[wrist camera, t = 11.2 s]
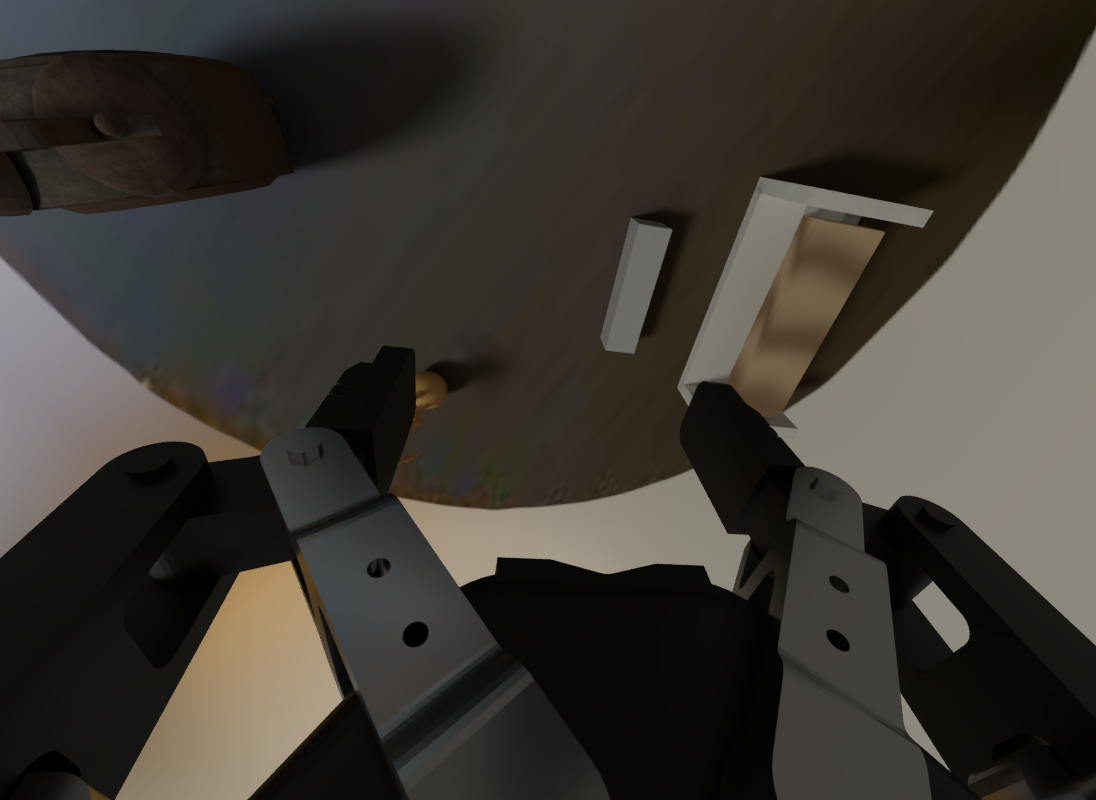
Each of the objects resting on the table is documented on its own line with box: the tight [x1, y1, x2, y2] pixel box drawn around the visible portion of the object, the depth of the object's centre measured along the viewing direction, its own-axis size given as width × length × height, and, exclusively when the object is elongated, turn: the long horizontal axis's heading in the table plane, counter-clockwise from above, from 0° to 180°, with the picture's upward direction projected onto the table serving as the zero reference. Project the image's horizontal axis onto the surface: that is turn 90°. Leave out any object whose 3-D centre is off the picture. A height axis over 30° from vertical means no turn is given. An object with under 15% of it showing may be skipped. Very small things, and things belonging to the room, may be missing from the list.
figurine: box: [397, 372, 447, 466], centre depth 40 cm, size 8×6×12 cm
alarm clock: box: [0, 50, 294, 216], centre depth 24 cm, size 14×7×20 cm, turn 96°
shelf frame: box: [677, 177, 933, 438], centre depth 39 cm, size 22×10×8 cm, turn 171°
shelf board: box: [726, 215, 885, 418], centre depth 37 cm, size 18×6×2 cm, turn 171°
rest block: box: [600, 218, 672, 354], centre depth 39 cm, size 12×3×3 cm, turn 171°
